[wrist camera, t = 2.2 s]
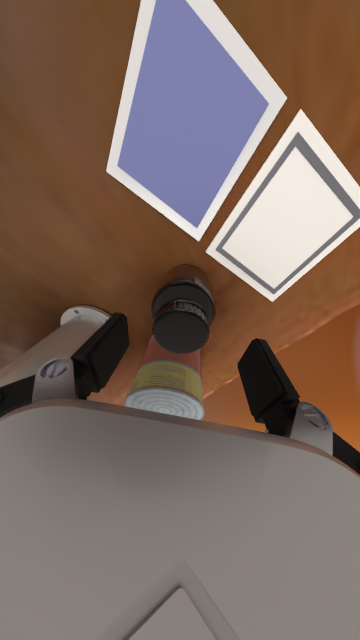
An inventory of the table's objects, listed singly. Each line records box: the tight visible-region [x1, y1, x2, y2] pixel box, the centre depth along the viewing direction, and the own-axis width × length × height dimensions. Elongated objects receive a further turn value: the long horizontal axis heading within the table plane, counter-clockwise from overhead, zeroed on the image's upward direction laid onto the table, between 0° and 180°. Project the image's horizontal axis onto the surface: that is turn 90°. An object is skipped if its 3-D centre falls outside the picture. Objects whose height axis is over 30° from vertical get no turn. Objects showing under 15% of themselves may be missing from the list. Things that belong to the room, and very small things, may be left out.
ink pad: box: [106, 0, 287, 241], centre depth 13 cm, size 12×12×1 cm
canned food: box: [125, 335, 204, 420], centre depth 24 cm, size 11×11×12 cm
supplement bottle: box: [151, 265, 216, 354], centre depth 16 cm, size 7×7×12 cm
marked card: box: [205, 109, 360, 302], centre depth 16 cm, size 13×13×1 cm
